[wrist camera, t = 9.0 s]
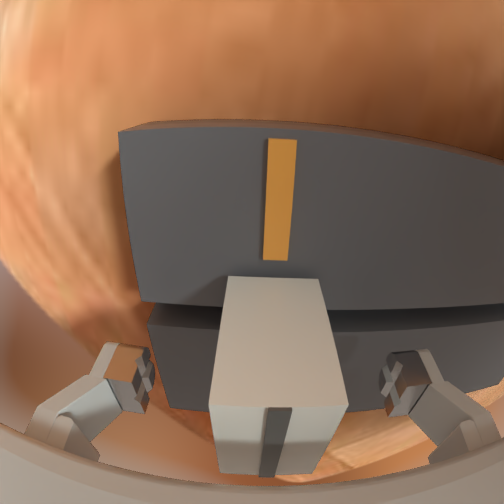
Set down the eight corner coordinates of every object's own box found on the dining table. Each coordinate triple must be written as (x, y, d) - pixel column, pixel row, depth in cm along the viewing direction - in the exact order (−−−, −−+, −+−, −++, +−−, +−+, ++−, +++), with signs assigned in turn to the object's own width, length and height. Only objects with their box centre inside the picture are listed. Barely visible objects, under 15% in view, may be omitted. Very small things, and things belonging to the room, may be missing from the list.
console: (554, 179, 11) (589, 199, 8) (482, 356, 18) (499, 386, 15) (149, 122, 11) (115, 132, 8) (179, 368, 18) (169, 410, 15)
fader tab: (311, 255, 12) (349, 408, 6) (298, 340, 14) (312, 475, 8) (232, 252, 12) (207, 407, 6) (233, 338, 14) (219, 475, 8)
